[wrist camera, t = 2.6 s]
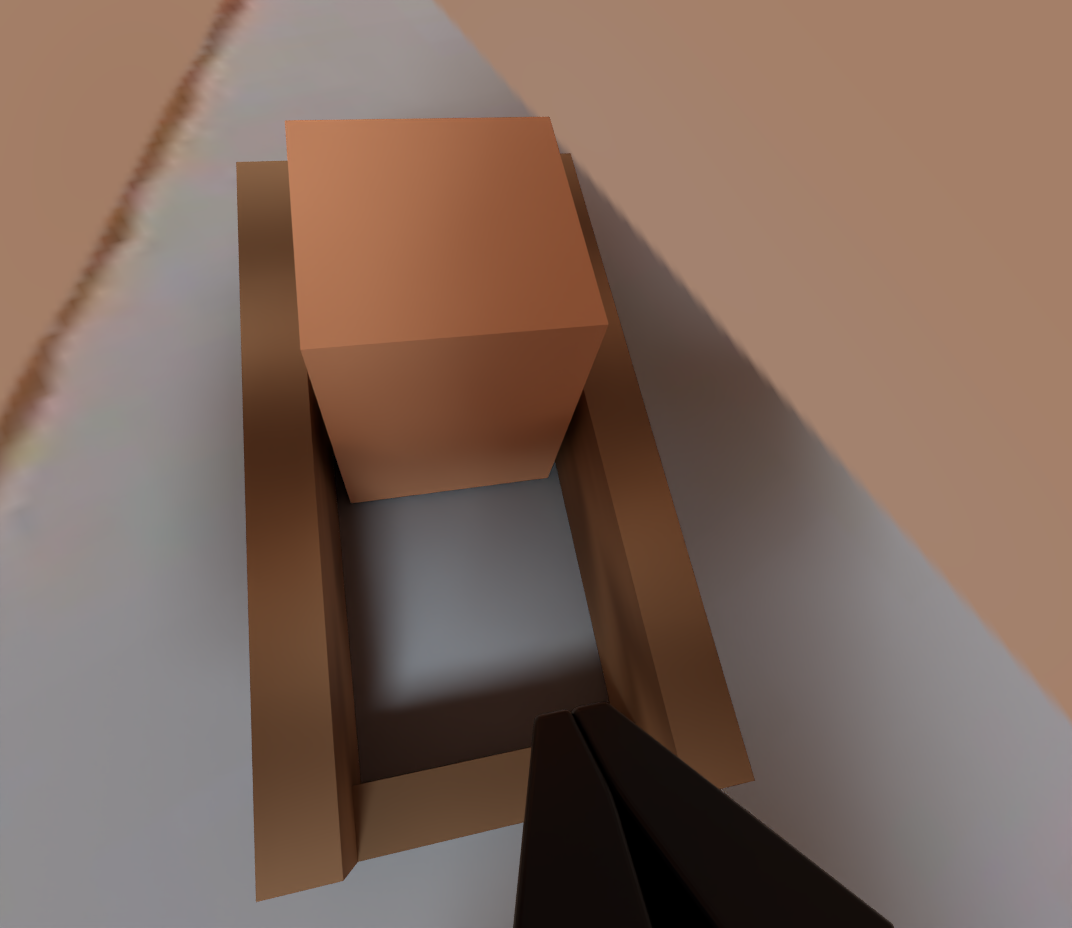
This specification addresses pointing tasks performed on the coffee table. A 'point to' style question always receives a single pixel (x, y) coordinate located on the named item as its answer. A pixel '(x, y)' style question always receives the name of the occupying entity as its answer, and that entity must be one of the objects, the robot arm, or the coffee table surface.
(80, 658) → the coffee table surface
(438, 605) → the coffee table surface
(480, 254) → the terracotta block
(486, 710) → the coffee table surface
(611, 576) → the walnut chute
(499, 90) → the coffee table surface
